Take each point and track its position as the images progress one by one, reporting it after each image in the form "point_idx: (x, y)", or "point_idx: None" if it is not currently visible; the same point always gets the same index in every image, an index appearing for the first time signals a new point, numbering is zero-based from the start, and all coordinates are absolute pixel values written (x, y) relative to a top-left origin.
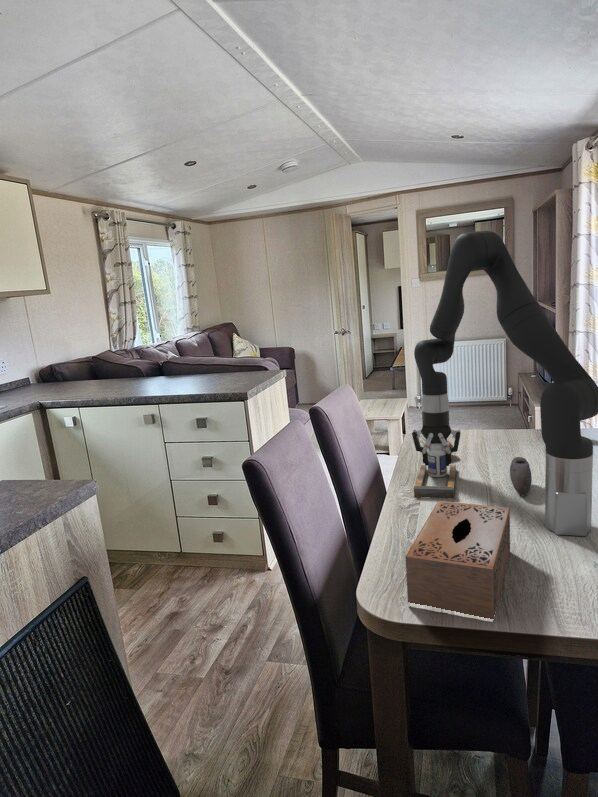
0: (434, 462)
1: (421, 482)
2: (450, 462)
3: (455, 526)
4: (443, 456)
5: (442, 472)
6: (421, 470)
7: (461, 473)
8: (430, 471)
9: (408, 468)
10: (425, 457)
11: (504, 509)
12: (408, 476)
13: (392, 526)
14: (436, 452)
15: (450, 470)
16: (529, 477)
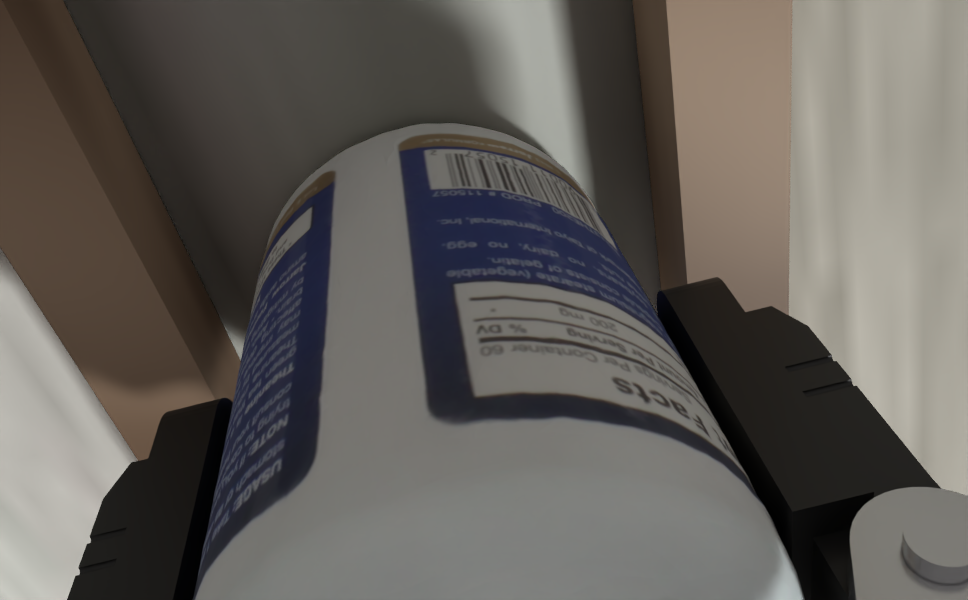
0: (470, 284)
1: None
2: (124, 491)
3: None
4: (214, 542)
5: (290, 223)
6: (752, 190)
7: (74, 439)
8: (552, 178)
9: (951, 372)
10: (792, 409)
11: None
12: (960, 14)
13: None
14: (438, 593)
15: (180, 366)
16: None
